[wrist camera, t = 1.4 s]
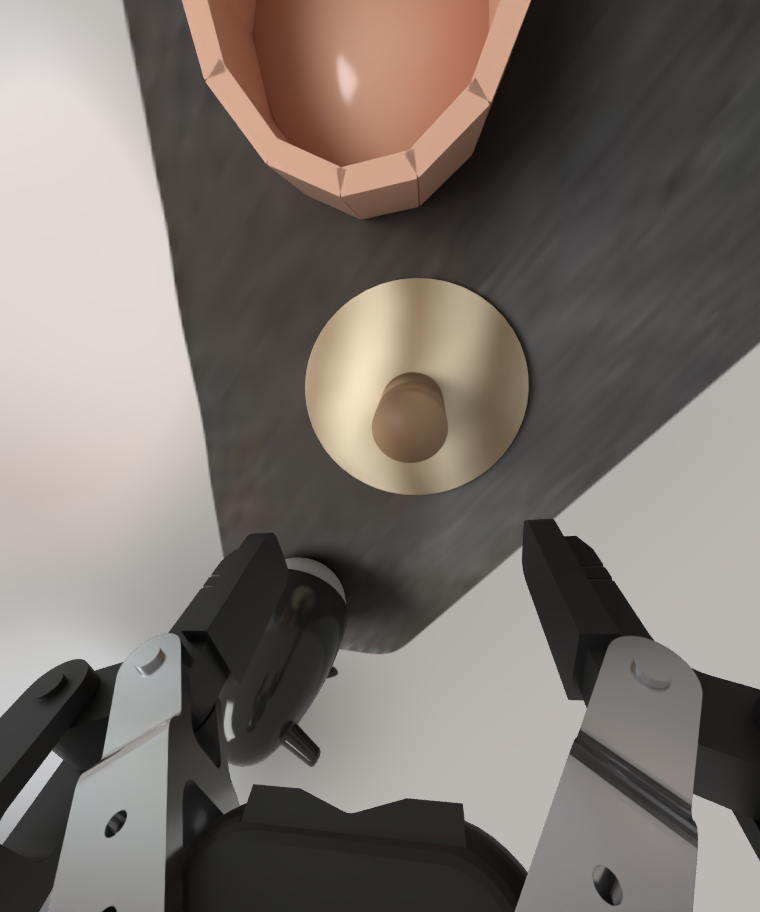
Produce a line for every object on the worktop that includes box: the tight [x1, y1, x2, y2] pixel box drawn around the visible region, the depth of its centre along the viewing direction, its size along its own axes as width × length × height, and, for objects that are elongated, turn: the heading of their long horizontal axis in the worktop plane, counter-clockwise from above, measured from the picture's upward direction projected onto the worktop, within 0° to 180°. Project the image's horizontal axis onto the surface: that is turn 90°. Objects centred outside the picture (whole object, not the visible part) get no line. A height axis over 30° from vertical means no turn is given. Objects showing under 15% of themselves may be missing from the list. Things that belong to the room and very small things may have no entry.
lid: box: [305, 278, 529, 495], centre depth 22 cm, size 16×16×6 cm
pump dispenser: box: [218, 557, 348, 767], centre depth 28 cm, size 10×10×15 cm
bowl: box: [182, 0, 531, 220], centre depth 14 cm, size 13×13×6 cm
